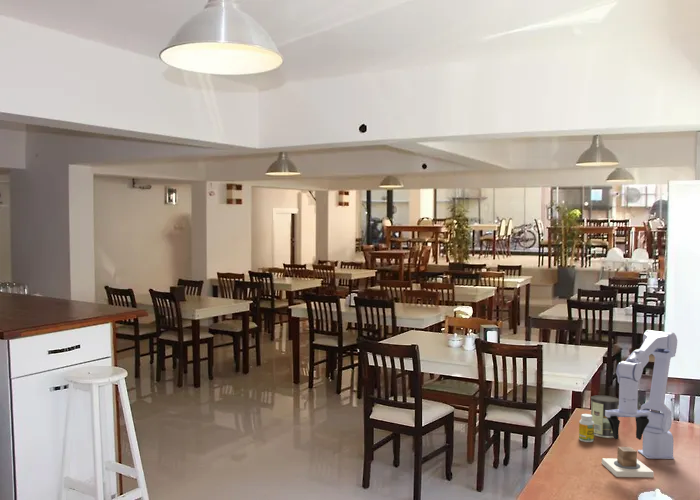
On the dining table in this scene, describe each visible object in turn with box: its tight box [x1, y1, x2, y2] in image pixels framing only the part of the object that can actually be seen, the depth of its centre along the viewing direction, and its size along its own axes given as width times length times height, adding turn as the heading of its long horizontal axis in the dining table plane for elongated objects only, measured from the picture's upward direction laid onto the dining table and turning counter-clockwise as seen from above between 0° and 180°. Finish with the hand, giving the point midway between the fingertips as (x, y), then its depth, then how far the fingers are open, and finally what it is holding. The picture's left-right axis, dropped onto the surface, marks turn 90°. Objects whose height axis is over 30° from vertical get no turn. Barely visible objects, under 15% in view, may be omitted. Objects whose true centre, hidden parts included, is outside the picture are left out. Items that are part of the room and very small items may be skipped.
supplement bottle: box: [578, 413, 595, 443], centre depth 246 cm, size 5×5×10 cm
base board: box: [601, 457, 655, 478], centre depth 216 cm, size 12×12×2 cm
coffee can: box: [590, 394, 619, 439], centre depth 254 cm, size 10×10×14 cm
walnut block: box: [616, 446, 638, 467], centre depth 216 cm, size 4×4×5 cm
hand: (627, 438), depth 216 cm, fingers open, 7 cm apart
